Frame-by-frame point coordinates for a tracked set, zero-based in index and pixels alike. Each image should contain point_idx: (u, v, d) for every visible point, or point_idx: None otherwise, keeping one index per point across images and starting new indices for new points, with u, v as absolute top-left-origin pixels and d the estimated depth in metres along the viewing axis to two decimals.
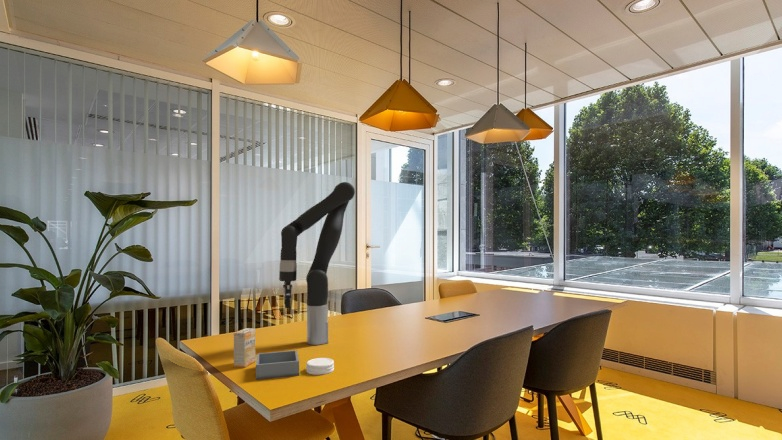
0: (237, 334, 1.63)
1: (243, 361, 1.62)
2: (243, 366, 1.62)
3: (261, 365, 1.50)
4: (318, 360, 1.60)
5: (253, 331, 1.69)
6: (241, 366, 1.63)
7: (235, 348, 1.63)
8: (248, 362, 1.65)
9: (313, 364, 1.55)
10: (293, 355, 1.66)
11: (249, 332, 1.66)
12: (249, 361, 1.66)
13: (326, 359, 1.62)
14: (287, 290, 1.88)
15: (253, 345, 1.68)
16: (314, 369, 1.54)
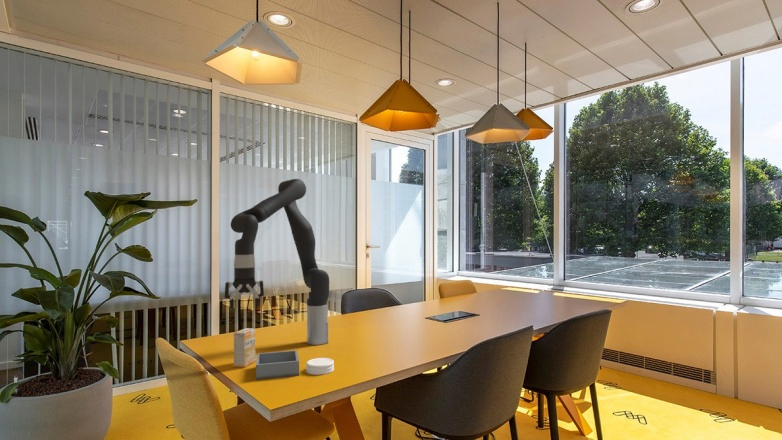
0: (237, 334, 1.63)
1: (243, 361, 1.62)
2: (243, 366, 1.62)
3: (261, 365, 1.50)
4: (318, 360, 1.60)
5: (253, 331, 1.69)
6: (241, 366, 1.63)
7: (235, 348, 1.63)
8: (248, 362, 1.65)
9: (313, 364, 1.55)
10: (293, 355, 1.66)
11: (249, 332, 1.66)
12: (249, 361, 1.66)
13: (326, 358, 1.62)
14: None
15: (252, 345, 1.68)
16: (314, 369, 1.54)
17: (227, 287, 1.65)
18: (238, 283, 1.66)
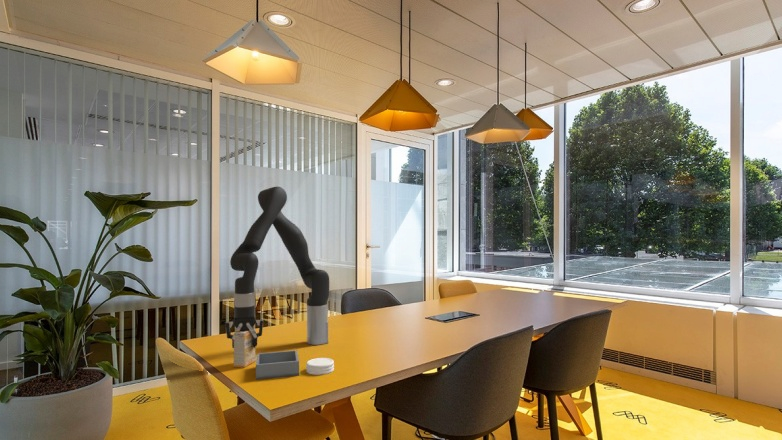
0: (237, 334, 1.63)
1: (243, 361, 1.62)
2: (243, 366, 1.62)
3: (261, 365, 1.50)
4: (318, 360, 1.60)
5: None
6: (241, 366, 1.63)
7: (235, 348, 1.63)
8: (248, 362, 1.65)
9: (313, 364, 1.55)
10: (293, 355, 1.66)
11: (249, 332, 1.66)
12: (250, 361, 1.66)
13: (326, 359, 1.62)
14: (262, 326, 1.68)
15: (252, 345, 1.68)
16: (314, 369, 1.54)
17: (228, 327, 1.64)
18: (238, 321, 1.65)
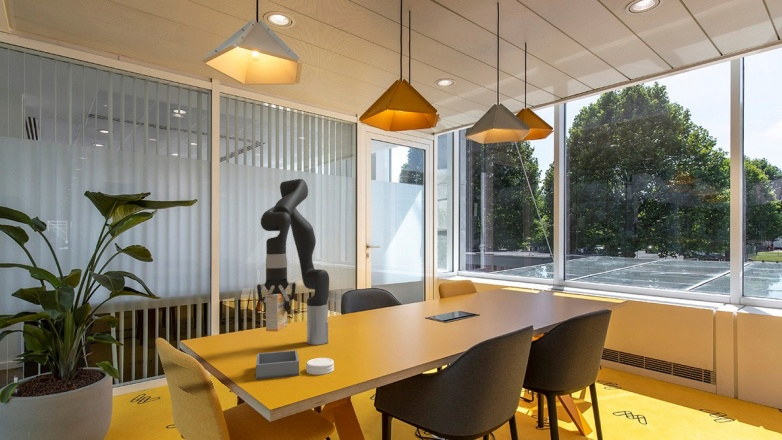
0: (269, 296, 1.55)
1: (275, 325, 1.54)
2: (276, 330, 1.54)
3: (261, 365, 1.50)
4: (318, 360, 1.60)
5: None
6: (274, 330, 1.55)
7: (267, 311, 1.55)
8: (280, 327, 1.57)
9: (313, 364, 1.55)
10: (293, 355, 1.66)
11: (281, 295, 1.58)
12: (282, 325, 1.58)
13: (326, 359, 1.62)
14: None
15: (284, 309, 1.60)
16: (314, 369, 1.54)
17: (259, 290, 1.56)
18: (270, 284, 1.57)
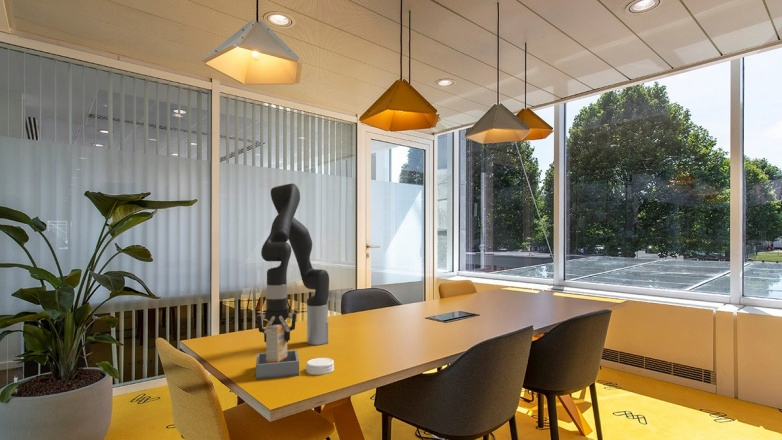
0: (269, 328, 1.55)
1: (276, 356, 1.54)
2: (276, 361, 1.54)
3: (261, 365, 1.50)
4: (318, 360, 1.60)
5: None
6: (274, 361, 1.54)
7: (267, 342, 1.55)
8: (281, 358, 1.57)
9: (313, 364, 1.55)
10: (293, 355, 1.66)
11: (282, 325, 1.58)
12: (282, 356, 1.58)
13: (326, 359, 1.62)
14: None
15: (285, 339, 1.60)
16: (314, 369, 1.54)
17: (260, 320, 1.56)
18: (270, 314, 1.57)
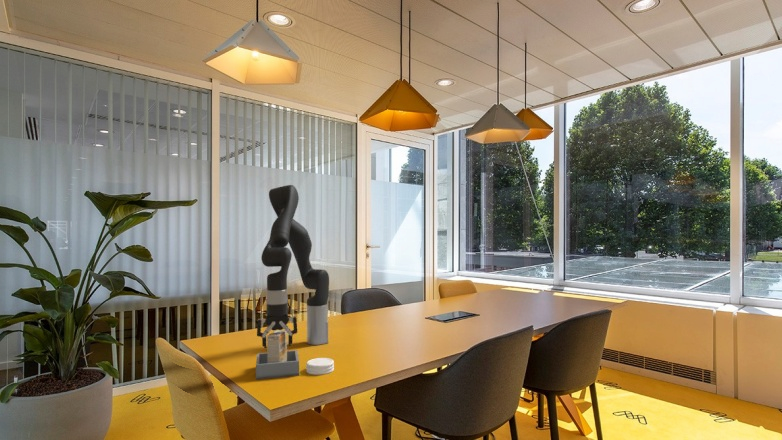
0: (271, 337, 1.55)
1: None
2: None
3: (261, 365, 1.50)
4: (318, 360, 1.60)
5: (285, 333, 1.61)
6: None
7: (269, 352, 1.55)
8: None
9: (313, 364, 1.55)
10: (293, 355, 1.66)
11: (282, 334, 1.58)
12: None
13: (326, 359, 1.62)
14: (296, 323, 1.60)
15: (285, 348, 1.60)
16: (314, 369, 1.54)
17: (259, 325, 1.56)
18: (271, 320, 1.57)
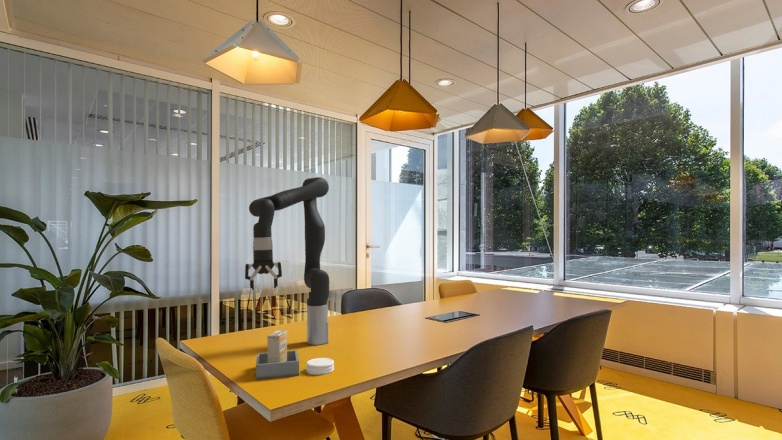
0: (271, 337, 1.55)
1: None
2: None
3: (261, 365, 1.50)
4: (318, 360, 1.60)
5: (285, 333, 1.61)
6: None
7: (269, 352, 1.55)
8: None
9: (313, 364, 1.55)
10: (293, 355, 1.66)
11: (283, 334, 1.58)
12: None
13: (326, 358, 1.62)
14: None
15: (285, 348, 1.60)
16: (314, 369, 1.54)
17: (247, 269, 1.72)
18: (257, 265, 1.73)
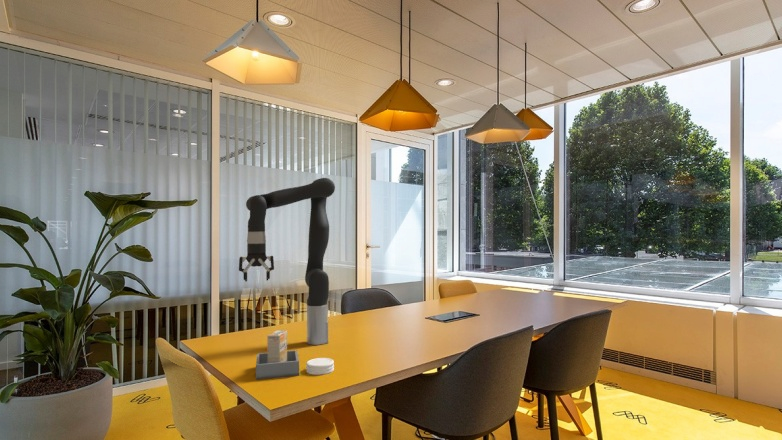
0: (271, 337, 1.55)
1: None
2: None
3: (261, 365, 1.50)
4: (318, 360, 1.60)
5: (285, 333, 1.61)
6: None
7: (269, 352, 1.55)
8: None
9: (313, 364, 1.55)
10: (293, 355, 1.66)
11: (283, 334, 1.58)
12: None
13: (326, 358, 1.62)
14: (273, 261, 1.86)
15: (285, 348, 1.60)
16: (314, 369, 1.54)
17: (241, 261, 1.81)
18: (251, 257, 1.82)
